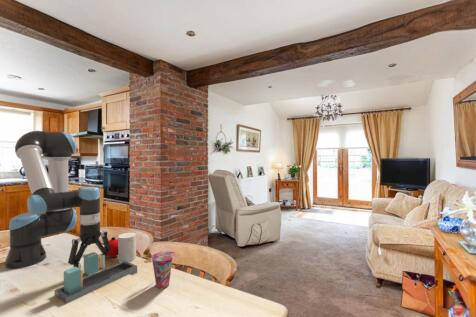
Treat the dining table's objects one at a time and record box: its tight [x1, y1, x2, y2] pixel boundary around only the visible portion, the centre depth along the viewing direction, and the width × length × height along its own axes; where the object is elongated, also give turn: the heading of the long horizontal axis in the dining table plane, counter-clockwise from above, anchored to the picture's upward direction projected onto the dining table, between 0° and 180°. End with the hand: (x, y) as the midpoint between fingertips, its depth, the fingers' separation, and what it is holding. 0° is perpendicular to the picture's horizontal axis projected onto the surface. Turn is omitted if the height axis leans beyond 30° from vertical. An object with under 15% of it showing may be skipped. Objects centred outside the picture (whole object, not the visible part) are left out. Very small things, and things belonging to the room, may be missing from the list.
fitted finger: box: [63, 267, 84, 295], centre depth 89 cm, size 4×5×9 cm
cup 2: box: [150, 251, 176, 289], centre depth 97 cm, size 9×8×12 cm
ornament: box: [103, 236, 118, 259], centre depth 123 cm, size 9×9×10 cm
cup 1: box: [117, 232, 137, 263], centre depth 121 cm, size 8×8×12 cm
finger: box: [83, 251, 100, 277], centre depth 105 cm, size 4×5×9 cm
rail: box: [54, 261, 138, 305], centre depth 98 cm, size 9×28×3 cm, turn 148°
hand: (91, 273), depth 105 cm, fingers open, 9 cm apart
